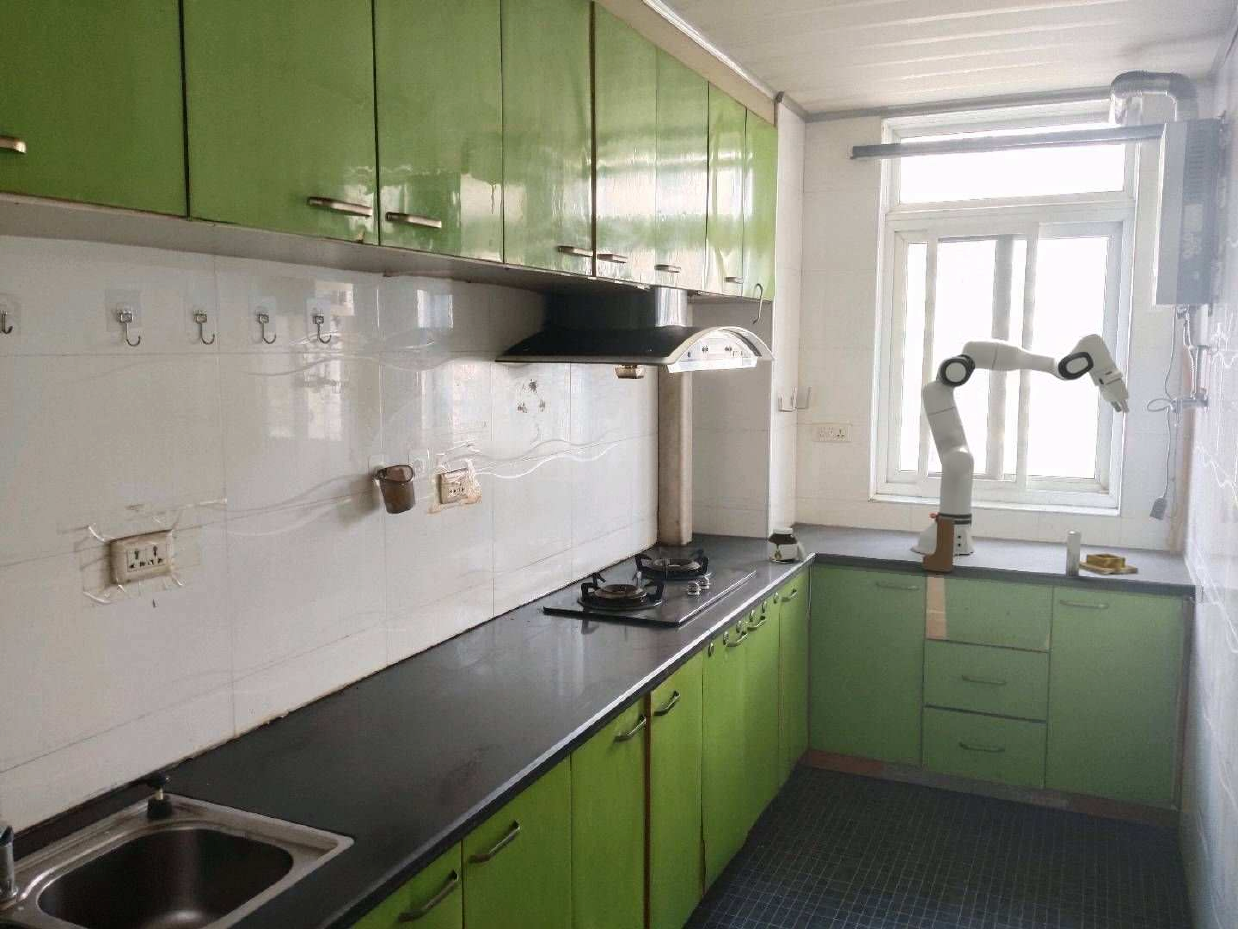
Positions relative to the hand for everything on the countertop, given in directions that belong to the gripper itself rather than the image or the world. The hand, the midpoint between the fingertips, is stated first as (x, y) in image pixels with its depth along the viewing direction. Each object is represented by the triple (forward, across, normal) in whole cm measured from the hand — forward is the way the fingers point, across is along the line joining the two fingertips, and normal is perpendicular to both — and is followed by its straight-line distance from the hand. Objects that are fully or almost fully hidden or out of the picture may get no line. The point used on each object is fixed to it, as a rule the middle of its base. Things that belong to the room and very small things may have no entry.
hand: (1123, 412), depth 350 cm
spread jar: (-2, +30, -126) cm, 129 cm away
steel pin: (+39, +30, -42) cm, 64 cm away
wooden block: (+20, +34, -81) cm, 90 cm away
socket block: (+44, +19, -30) cm, 57 cm away
